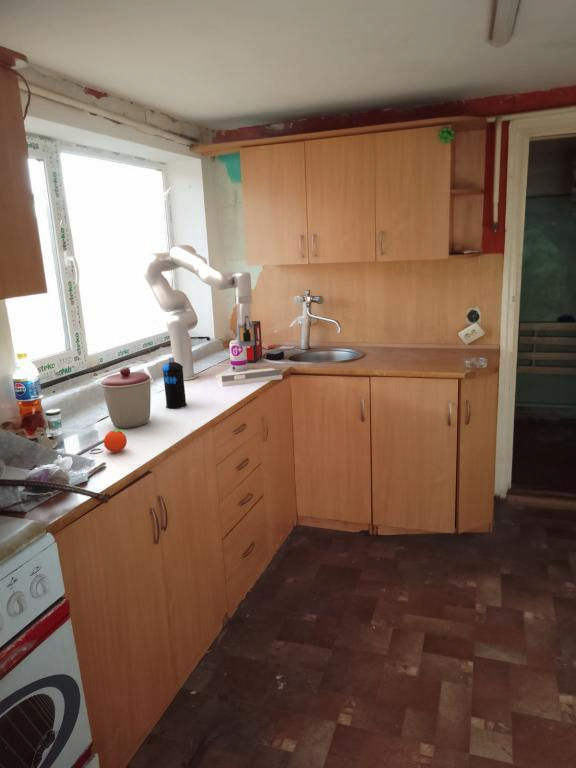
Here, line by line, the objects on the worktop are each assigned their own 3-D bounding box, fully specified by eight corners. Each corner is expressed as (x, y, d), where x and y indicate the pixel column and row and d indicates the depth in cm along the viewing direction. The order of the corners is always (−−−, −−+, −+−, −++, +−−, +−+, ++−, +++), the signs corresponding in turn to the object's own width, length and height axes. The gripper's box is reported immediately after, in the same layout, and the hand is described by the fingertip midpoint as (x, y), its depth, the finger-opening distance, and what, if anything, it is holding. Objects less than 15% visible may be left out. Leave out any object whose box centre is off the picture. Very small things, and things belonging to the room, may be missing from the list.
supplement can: (245, 371, 281) (243, 341, 277) (229, 371, 283) (226, 342, 279) (249, 368, 289) (247, 338, 285) (234, 368, 290) (231, 339, 287)
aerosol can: (177, 402, 233) (172, 354, 228) (191, 405, 228) (186, 356, 223) (161, 407, 227) (156, 358, 222) (175, 410, 222) (169, 360, 217)
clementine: (129, 445, 185) (127, 424, 183) (132, 452, 178) (130, 430, 177) (104, 450, 182) (101, 429, 180) (106, 457, 175) (103, 435, 174)
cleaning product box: (247, 357, 317) (244, 321, 312) (262, 356, 315) (260, 320, 310) (239, 363, 301) (236, 325, 296) (255, 363, 299) (253, 325, 295)
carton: (237, 344, 260) (236, 323, 258) (252, 343, 262) (251, 322, 259) (239, 346, 256) (238, 324, 253) (254, 345, 257) (253, 323, 255)
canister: (95, 427, 205) (87, 370, 200) (133, 413, 220) (127, 360, 214) (129, 434, 195) (121, 375, 190) (167, 420, 210) (161, 364, 205)
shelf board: (222, 386, 255) (221, 376, 254) (216, 378, 270) (215, 369, 269) (282, 379, 262) (282, 369, 261) (273, 371, 277) (272, 362, 276)
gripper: (232, 298, 261) (234, 338, 265) (238, 302, 245) (241, 344, 249) (248, 297, 263) (250, 336, 267) (255, 301, 247) (258, 342, 251)
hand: (245, 339), depth 258 cm, fingers closed on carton, 4 cm apart
